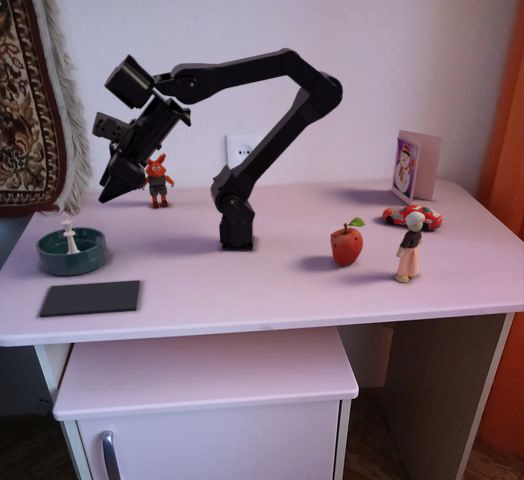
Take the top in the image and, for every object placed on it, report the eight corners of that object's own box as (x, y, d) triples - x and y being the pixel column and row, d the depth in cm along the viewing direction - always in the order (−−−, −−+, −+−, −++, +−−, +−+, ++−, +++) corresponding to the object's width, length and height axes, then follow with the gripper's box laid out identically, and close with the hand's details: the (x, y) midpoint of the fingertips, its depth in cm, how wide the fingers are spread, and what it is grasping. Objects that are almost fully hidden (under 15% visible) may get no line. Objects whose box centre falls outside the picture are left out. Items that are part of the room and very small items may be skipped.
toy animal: (145, 212, 129) (138, 161, 122) (143, 204, 133) (135, 154, 126) (178, 208, 130) (173, 158, 123) (175, 200, 135) (169, 151, 128)
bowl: (116, 247, 113) (112, 227, 110) (97, 277, 102) (93, 255, 100) (55, 246, 113) (50, 226, 111) (31, 276, 103) (24, 254, 100)
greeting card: (388, 190, 139) (395, 129, 130) (414, 188, 140) (423, 127, 131) (408, 206, 130) (417, 142, 121) (435, 203, 131) (447, 139, 122)
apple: (320, 264, 106) (323, 216, 100) (336, 252, 110) (340, 204, 104) (355, 275, 102) (361, 225, 96) (371, 261, 107) (377, 213, 101)
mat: (139, 282, 101) (139, 280, 100) (136, 310, 92) (135, 307, 92) (51, 288, 99) (51, 285, 99) (40, 317, 91) (39, 314, 91)
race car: (378, 222, 122) (380, 205, 120) (386, 214, 126) (388, 198, 124) (436, 234, 117) (439, 216, 114) (442, 225, 121) (446, 208, 118)
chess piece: (81, 266, 105) (69, 217, 99) (58, 264, 106) (45, 216, 100) (92, 255, 109) (82, 208, 103) (70, 253, 110) (58, 206, 104)
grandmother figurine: (409, 287, 98) (420, 221, 91) (389, 281, 100) (398, 216, 92) (423, 270, 103) (434, 206, 96) (403, 265, 105) (413, 202, 98)
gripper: (114, 85, 100) (65, 150, 104) (114, 106, 85) (58, 181, 90) (162, 127, 106) (114, 187, 110) (169, 153, 91) (114, 222, 96)
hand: (100, 193), depth 101 cm, fingers open, 9 cm apart
